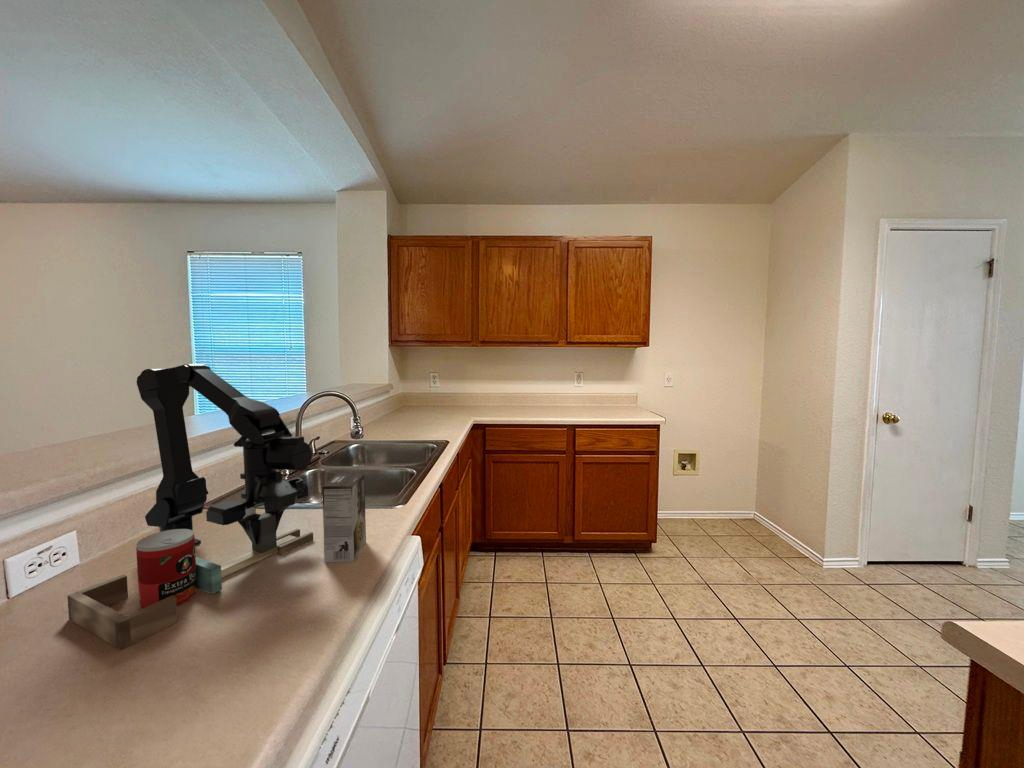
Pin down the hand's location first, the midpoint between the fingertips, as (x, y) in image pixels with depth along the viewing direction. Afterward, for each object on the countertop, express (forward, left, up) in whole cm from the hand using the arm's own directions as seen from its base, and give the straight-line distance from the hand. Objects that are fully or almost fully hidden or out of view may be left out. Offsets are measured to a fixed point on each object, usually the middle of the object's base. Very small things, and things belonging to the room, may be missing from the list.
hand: (263, 540), depth 86 cm
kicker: (0, -3, -3) cm, 5 cm away
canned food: (0, -17, -4) cm, 17 cm away
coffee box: (+14, +9, -4) cm, 17 cm away
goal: (0, -23, -3) cm, 24 cm away
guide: (0, +6, -4) cm, 7 cm away
